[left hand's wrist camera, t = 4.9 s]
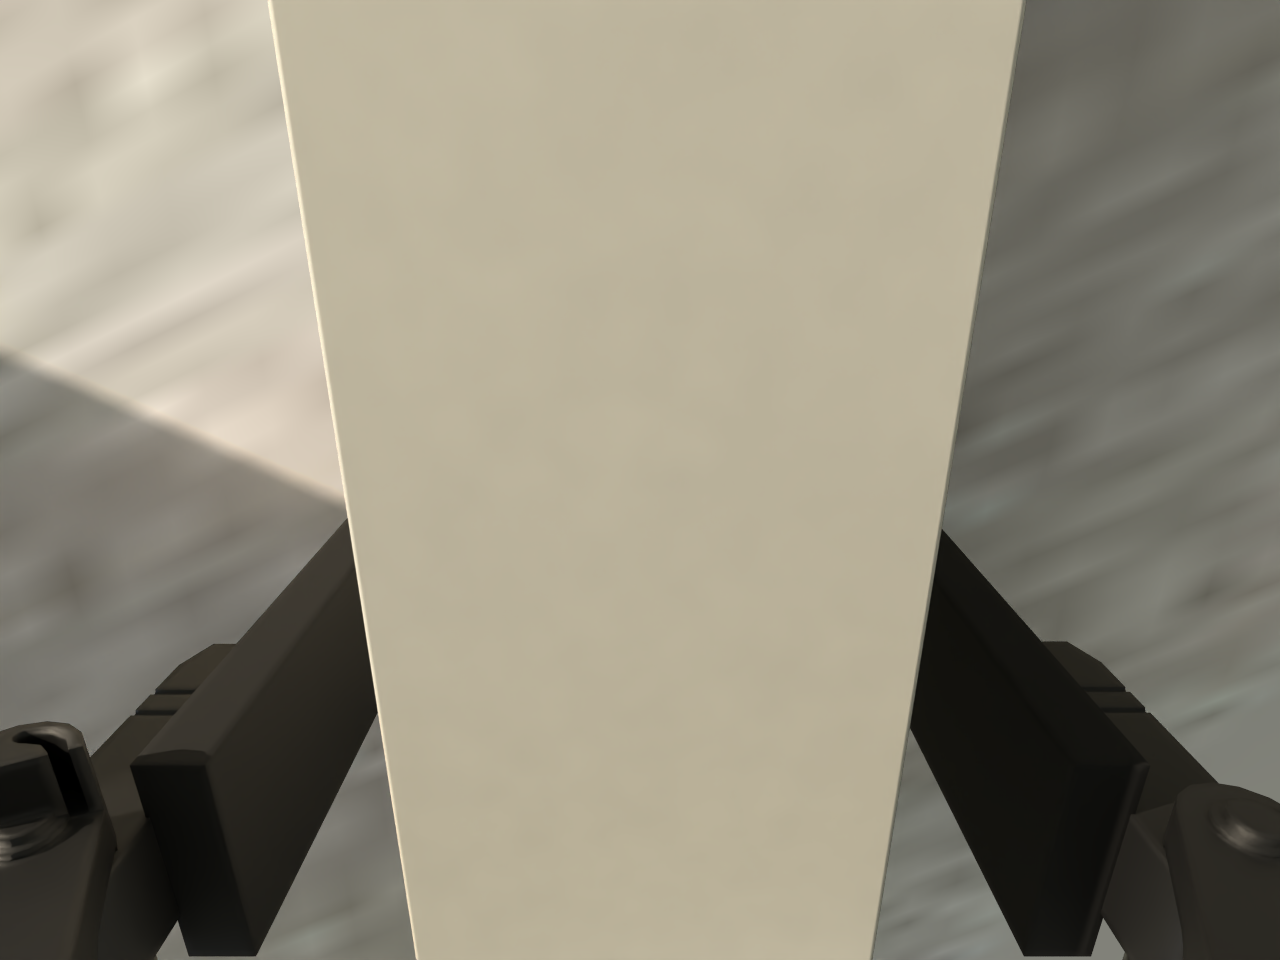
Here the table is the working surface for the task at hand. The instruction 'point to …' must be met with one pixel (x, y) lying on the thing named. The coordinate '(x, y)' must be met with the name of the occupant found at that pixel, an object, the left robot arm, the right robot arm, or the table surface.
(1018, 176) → the table surface
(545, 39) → the board
